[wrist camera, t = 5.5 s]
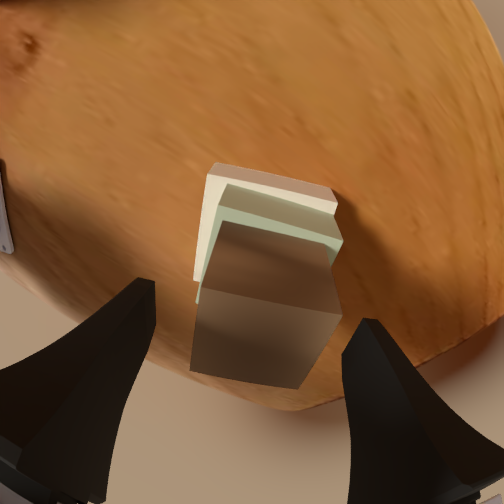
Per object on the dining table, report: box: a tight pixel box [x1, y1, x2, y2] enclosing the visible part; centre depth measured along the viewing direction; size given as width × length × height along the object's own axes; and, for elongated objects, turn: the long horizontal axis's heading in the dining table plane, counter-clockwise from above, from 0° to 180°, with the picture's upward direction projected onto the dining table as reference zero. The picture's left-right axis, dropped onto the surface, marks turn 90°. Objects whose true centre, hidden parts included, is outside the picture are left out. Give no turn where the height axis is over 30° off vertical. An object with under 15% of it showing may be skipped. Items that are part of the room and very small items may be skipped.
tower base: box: [193, 162, 338, 282], centre depth 16 cm, size 6×6×2 cm
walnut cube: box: [190, 220, 343, 389], centre depth 11 cm, size 4×4×4 cm
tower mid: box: [196, 183, 343, 304], centre depth 13 cm, size 5×5×2 cm
